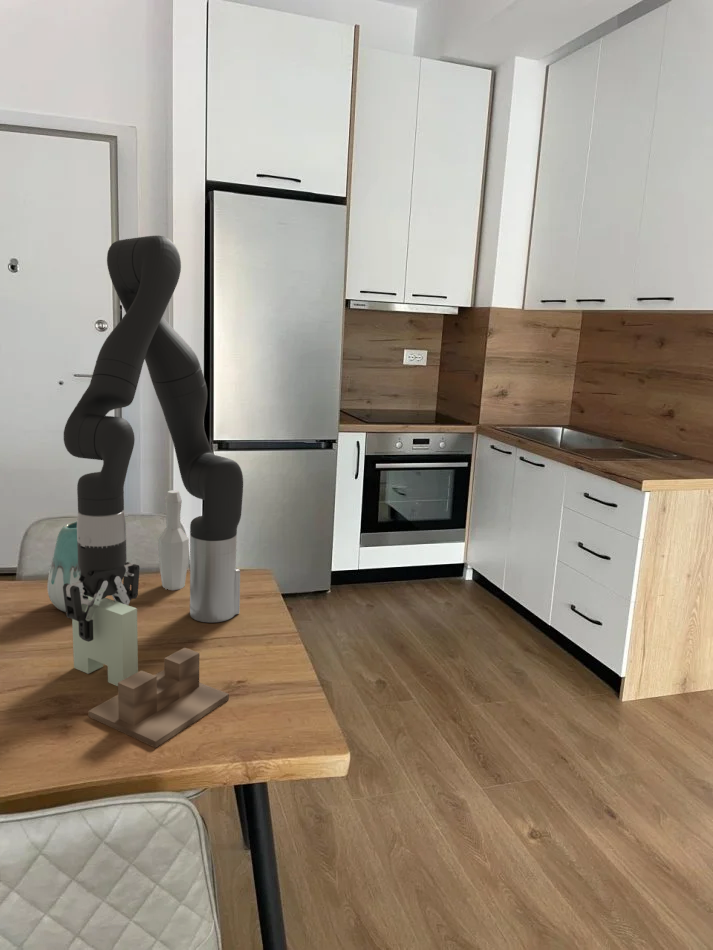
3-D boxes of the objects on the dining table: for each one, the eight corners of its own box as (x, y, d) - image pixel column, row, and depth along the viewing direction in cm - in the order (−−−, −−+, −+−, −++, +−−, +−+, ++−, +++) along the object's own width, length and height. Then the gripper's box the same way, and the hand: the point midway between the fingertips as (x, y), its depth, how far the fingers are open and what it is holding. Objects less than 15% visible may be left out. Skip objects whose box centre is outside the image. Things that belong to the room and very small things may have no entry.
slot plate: (165, 674, 122) (164, 636, 121) (228, 699, 116) (229, 659, 114) (88, 716, 109) (87, 674, 107) (155, 747, 102) (155, 703, 101)
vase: (43, 619, 141) (39, 532, 137) (53, 597, 152) (50, 515, 148) (105, 617, 143) (103, 531, 139) (111, 594, 154) (109, 515, 150)
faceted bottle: (193, 586, 161) (194, 492, 157) (170, 593, 156) (170, 496, 152) (176, 578, 165) (175, 486, 160) (153, 586, 160) (152, 491, 155)
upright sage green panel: (89, 660, 126) (87, 591, 123) (138, 680, 120) (137, 608, 117) (73, 667, 123) (71, 597, 120) (123, 688, 117) (121, 614, 114)
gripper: (120, 523, 124) (121, 612, 128) (48, 543, 112) (52, 641, 115) (151, 531, 120) (152, 623, 124) (80, 553, 108) (84, 654, 112)
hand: (104, 632), depth 120 cm, fingers open, 6 cm apart
